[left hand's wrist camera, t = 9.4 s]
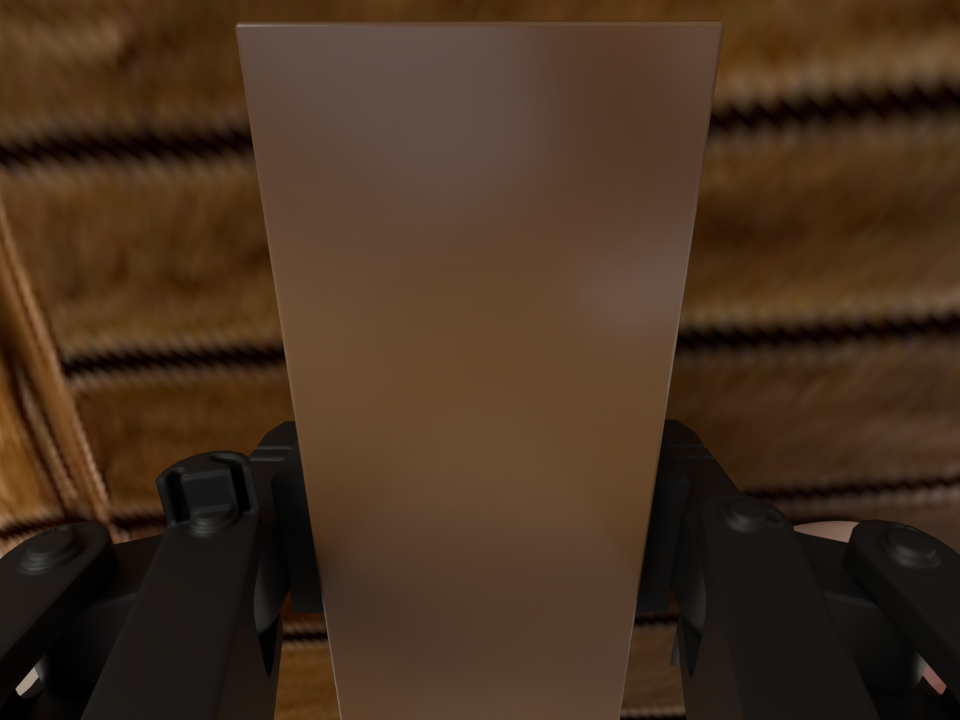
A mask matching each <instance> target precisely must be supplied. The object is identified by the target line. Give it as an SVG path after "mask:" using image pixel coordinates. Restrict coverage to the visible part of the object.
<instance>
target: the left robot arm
mask: <svg viewBox="0 0 960 720" xmlns="http://www.w3.org/2000/svg"><path fill="white" fill-rule="evenodd" d="M155 481H156V485H157V488H158V492H159V495H160V499H161V503H162V506H163V510H164V513H165V517H166V520H167V524H168V526H167V529H166V531H165V533H164V534H160V535H157V536H153V537H148V538H143V539H138V540H133V541H129V542H124V543H119V544H114V545H113V543H112V540H111V537H110V534H109V531H108V529H106V528H105V527H104V526H103V525H101V524H99V523H92V522H80V523H72V524H65V525H61V526H58V527H56V528H55V527H54V528H51V529H48V530H45V531H43V532H42V533H40V534H38V535H36V536H33V537H31V538H29V539H27V540H25V541H24V542H22V543H21V544H19V545H18V546H17V547H15V548H14V549H12V550H11V551H9V552H8V553H7V554H6V555H4V556H3V557H2V558H1V559H0V720H274V711H275V702H276V693H277V684H278V675H279V666H280V657H281V648H282V639H283V628H282V621H281V616H280V609H281V607H282V605H283V602H284V600H285V598H286V596H287V593H288V591H289V589H290V594H291V600H292V605H293V611H294V613H315V612H324V606H323V600H322V593H321V587H320V580H319V574H318V567H317V561H316V554H315V547H314V541H313V534H312V528H311V521H310V515H309V508H308V502H307V495H306V488H305V482H304V475H303V469H302V462H301V456H300V449H299V443H298V436H297V429H296V423H295V421H285V422H284V423H282V424H280V425H279V426H277V427H276V428H274V429H273V430H271V431H270V432H268V433H267V434H266V435H265V436H264V438H263V439H262V440H261V442H260V443H259V444H258V446H257V449H256V450H254V451H253V452H252V454H251V455H250V456H249V457H246V456H245V455H244V454H243V453H238V452H234V451H212V452H207V453H202V454H197V455H194V456H191V457H189V458H186V459H184V460H181V461H179V462H177V463H175V464H174V465H172V466H171V467H169V468H167V469H166V470H164V471H163V472H162V473H161V475H160V476H159V477H158V478H157V479H156V480H155ZM671 587H672V590H673V592H674V594H675V597H676V599H677V601H678V603H679V606H680V608H681V611H680V616H679V621H678V626H677V631H676V636H675V642H674V647H673V652H672V658H671V665H674V666H678V661H679V656H680V665H681V674H682V683H683V692H684V701H685V710H686V719H687V720H960V555H959V554H958V553H956V552H955V551H954V550H953V549H951V548H950V547H948V546H947V545H945V544H944V543H943V542H941V541H940V540H938V539H937V538H935V537H933V536H931V535H929V534H926V533H924V532H922V531H920V530H919V529H917V528H914V527H911V526H909V525H904V524H902V523H897V522H892V521H884V520H868V521H861V522H860V523H858V524H857V525H856V526H855V527H853V529H852V532H851V535H850V538H849V541H848V542H843V541H838V540H833V539H828V538H823V537H819V536H814V535H809V534H805V533H801V532H797V531H795V530H794V528H793V526H792V524H791V523H790V521H789V520H788V519H787V517H786V516H785V515H784V514H783V513H782V512H780V511H779V510H778V509H776V508H775V507H774V506H772V505H771V504H769V503H766V502H764V501H762V500H760V499H758V498H755V497H752V496H748V495H744V494H741V493H740V491H739V490H738V489H737V487H736V486H735V485H734V483H733V482H732V481H731V479H730V478H729V477H728V476H727V474H726V473H725V472H724V470H723V469H722V468H721V466H720V465H719V464H718V462H717V461H716V460H715V459H713V456H712V455H711V453H710V452H709V451H708V449H707V448H704V444H703V443H702V442H701V440H700V439H699V438H698V436H697V435H696V434H695V432H694V431H692V430H691V429H689V428H688V427H686V426H684V425H683V424H681V423H680V422H678V421H677V420H665V422H664V428H663V435H662V442H661V448H660V455H659V462H658V468H657V475H656V481H655V488H654V495H653V501H652V508H651V515H650V521H649V528H648V535H647V541H646V548H645V555H644V561H643V568H642V574H641V581H640V588H639V594H638V601H637V608H636V612H667V608H668V602H669V597H670V591H671ZM927 664H928V665H929V666H930V668H931V669H932V670H933V671H934V672H935V673H936V675H937V676H938V677H939V678H940V679H941V680H942V682H943V683H944V684H945V685H946V688H945V690H944V692H943V693H942V694H940V693H939V692H938V691H937V690H935V689H934V688H933V687H932V686H931V685H930V683H929V682H928V681H927V680H926V679H925V677H924V676H923V673H924V671H925V669H926V666H927ZM33 667H35V670H36V672H37V674H38V676H39V677H38V679H37V680H36V681H35V682H34V683H33V685H32V686H31V687H30V688H29V689H28V690H27V691H26V692H24V693H23V694H22V695H21V696H20V695H18V693H17V691H16V687H17V686H18V685H19V684H20V683H21V681H22V680H23V679H24V678H25V677H26V676H27V674H28V673H29V672H30V671H31V670H32V669H33Z"/></svg>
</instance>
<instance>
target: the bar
mask: <svg viewBox="0 0 960 720" xmlns="http://www.w3.org/2000/svg"><path fill="white" fill-rule="evenodd" d="M235 30H236V36H237V43H238V49H239V56H240V62H241V69H242V75H243V82H244V89H245V95H246V102H247V108H248V115H249V121H250V128H251V134H252V141H253V148H254V154H255V161H256V167H257V174H258V180H259V187H260V193H261V200H262V207H263V213H264V220H265V226H266V233H267V239H268V246H269V252H270V259H271V266H272V272H273V279H274V285H275V292H276V298H277V305H278V311H279V318H280V325H281V331H282V338H283V344H284V351H285V357H286V364H287V370H288V377H289V384H290V390H291V397H292V403H293V410H294V416H295V423H296V429H297V436H298V443H299V449H300V456H301V462H302V469H303V475H304V482H305V488H306V495H307V502H308V508H309V515H310V521H311V528H312V534H313V541H314V547H315V554H316V561H317V567H318V574H319V580H320V587H321V593H322V600H323V606H324V613H325V619H326V626H327V633H328V639H329V646H330V652H331V659H332V665H333V672H334V678H335V685H336V692H337V698H338V705H339V711H340V718H341V720H620V714H621V707H622V701H623V694H624V687H625V681H626V674H627V667H628V661H629V654H630V647H631V641H632V634H633V628H634V621H635V614H636V608H637V601H638V594H639V588H640V581H641V574H642V568H643V561H644V555H645V548H646V541H647V535H648V528H649V521H650V515H651V508H652V501H653V495H654V488H655V481H656V475H657V468H658V462H659V455H660V448H661V442H662V435H663V428H664V422H665V415H666V408H667V402H668V395H669V388H670V382H671V375H672V369H673V362H674V355H675V349H676V342H677V335H678V329H679V322H680V315H681V309H682V302H683V295H684V289H685V282H686V276H687V269H688V262H689V256H690V249H691V242H692V236H693V229H694V222H695V216H696V209H697V203H698V196H699V189H700V183H701V176H702V169H703V163H704V156H705V149H706V143H707V136H708V129H709V123H710V116H711V110H712V103H713V96H714V90H715V83H716V76H717V70H718V63H719V56H720V50H721V43H722V36H723V30H724V26H723V23H722V22H720V21H241V22H238V23H236V27H235Z"/></svg>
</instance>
